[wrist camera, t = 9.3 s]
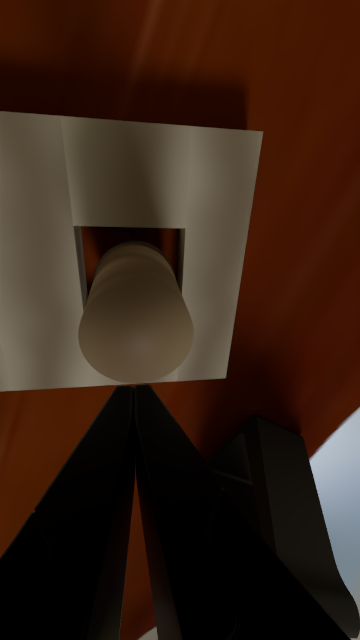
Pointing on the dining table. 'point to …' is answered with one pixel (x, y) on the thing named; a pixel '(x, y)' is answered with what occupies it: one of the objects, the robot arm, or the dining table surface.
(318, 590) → the phone stand
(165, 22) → the dining table surface
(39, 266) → the birch board
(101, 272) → the oak peg
